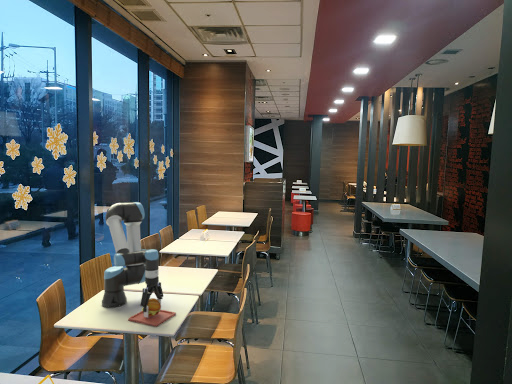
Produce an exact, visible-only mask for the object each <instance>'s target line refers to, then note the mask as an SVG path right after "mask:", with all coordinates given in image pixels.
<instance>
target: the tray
mask: <svg viewBox="0 0 512 384" xmlns="http://www.w3.org/2000/svg"><path fill="white" fill-rule="evenodd" d="M176 314H177V313H176V312H175V311H169V310H165V309H161V310H160V312H159V313H158V314H157V315H155V316H148V318H147V317H144V314H143V311H142V310H141V311H139V312H137V313H135V314H134V315H131V316H129V317H128V318H127V320H128V321H129V322H133V323H137V324H141V325H146V326H149V327H153V328H155V327H156V328H157V327H160V325H162V324H163V323H165V322H167V321H168V320H170V319H171V318H173V317H176Z"/></svg>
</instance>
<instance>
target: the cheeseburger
mask: <svg viewBox="0 0 512 384" xmlns="http://www.w3.org/2000/svg"><path fill="white" fill-rule="evenodd" d="M161 304H162V303H161ZM161 304H160V303H159V301H158V300H157V298H155V297H152V298H151V297H150V299H149V302H148V305H147V306H148V316H155V315H157V314H158V313H159V312H160V308H162V305H161ZM141 311H143V307H142V308H141ZM143 314H144V312H143Z"/></svg>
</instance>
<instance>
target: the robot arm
mask: <svg viewBox="0 0 512 384" xmlns="http://www.w3.org/2000/svg"><path fill="white" fill-rule="evenodd" d="M145 217H146V214H145V209H144V206H143V204H142V203H141V202H137V201H135V202H134V201H133V202H117V203H114V204H112V205H111V206H110V207H109V208H108V210H106V213H105V223H106V226H108V228H109V232H110V235H111V238H112V239H111V240H112V242H113V243H112V244H113V246H114V250H115V254H113V263H114V266H110V267H108V268H107V269H105V270H104V272H103V273H104V275H103V283H104V284H103V286H104V293H103V297H102V300H101V306H102V307H104V308H109V309H110V308H118V307H122V306H124V305H127V302H128V298H127V296H126V293H125V288H124V287H126V286H132V285H139V284H143V283H145V285H146V287H145V288H143V287H142V295H141V299H140V305H139V306H140V307H142V308H143V312H144V317H147V318H148V306H147V305H148V302H149V299H151V296H152V295H153V293H154V295H155V297H156V299H157V300H158V301H159V303H160V304H162V300H163V297H164V291H163V288H162V282H160V281H159V274H160V273H159V257H160V256H159V251H158V249H154V248H153V249H150V248H149V249H146V248H143V249H142V244H141V242H142V240H141V223H143V220H144V219H145ZM122 221H123V223H122ZM123 224H124V225H125V228H126V235H125V232H124V227H123ZM161 308H162V307H161ZM161 308H160V310H162V309H161Z"/></svg>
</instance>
